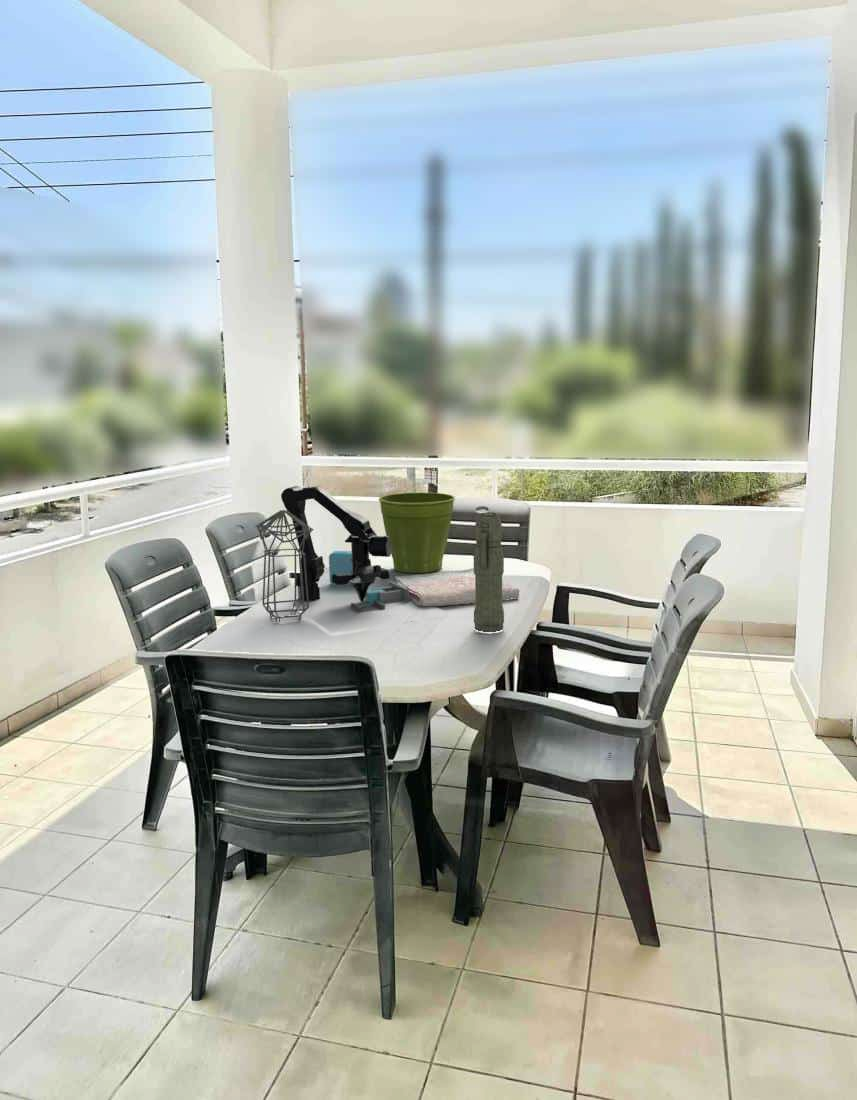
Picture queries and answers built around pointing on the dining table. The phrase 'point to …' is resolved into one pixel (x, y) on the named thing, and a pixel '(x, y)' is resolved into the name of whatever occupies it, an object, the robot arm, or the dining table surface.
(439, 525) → the plant pot
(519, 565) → the dining table surface
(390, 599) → the socket
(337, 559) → the data package
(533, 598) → the dining table surface
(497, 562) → the flashlight
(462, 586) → the towel
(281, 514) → the geometric lantern
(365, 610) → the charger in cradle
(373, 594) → the plug
